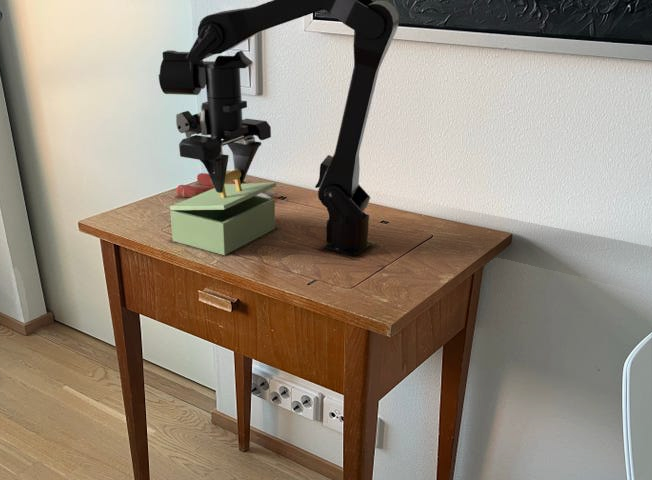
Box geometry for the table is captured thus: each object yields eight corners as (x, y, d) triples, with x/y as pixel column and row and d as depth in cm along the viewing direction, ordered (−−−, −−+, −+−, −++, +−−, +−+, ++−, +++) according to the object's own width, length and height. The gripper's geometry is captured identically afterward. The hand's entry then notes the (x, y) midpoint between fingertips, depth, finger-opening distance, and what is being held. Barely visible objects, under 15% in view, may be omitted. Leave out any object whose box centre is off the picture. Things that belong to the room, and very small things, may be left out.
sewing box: (275, 228, 137) (274, 199, 135) (224, 255, 126) (223, 223, 124) (224, 216, 143) (223, 188, 140) (172, 241, 132) (170, 210, 129)
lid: (276, 186, 133) (272, 161, 131) (224, 209, 122) (219, 182, 120) (224, 188, 140) (219, 164, 138) (170, 210, 129) (164, 185, 127)
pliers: (262, 209, 147) (262, 196, 145) (174, 197, 153) (173, 185, 152) (284, 193, 156) (284, 180, 154) (200, 182, 162) (199, 170, 161)
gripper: (220, 83, 132) (226, 169, 140) (149, 101, 119) (160, 195, 127) (271, 88, 127) (274, 177, 135) (202, 107, 113) (210, 205, 121)
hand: (229, 187), depth 129 cm, fingers closed on lid, 5 cm apart
